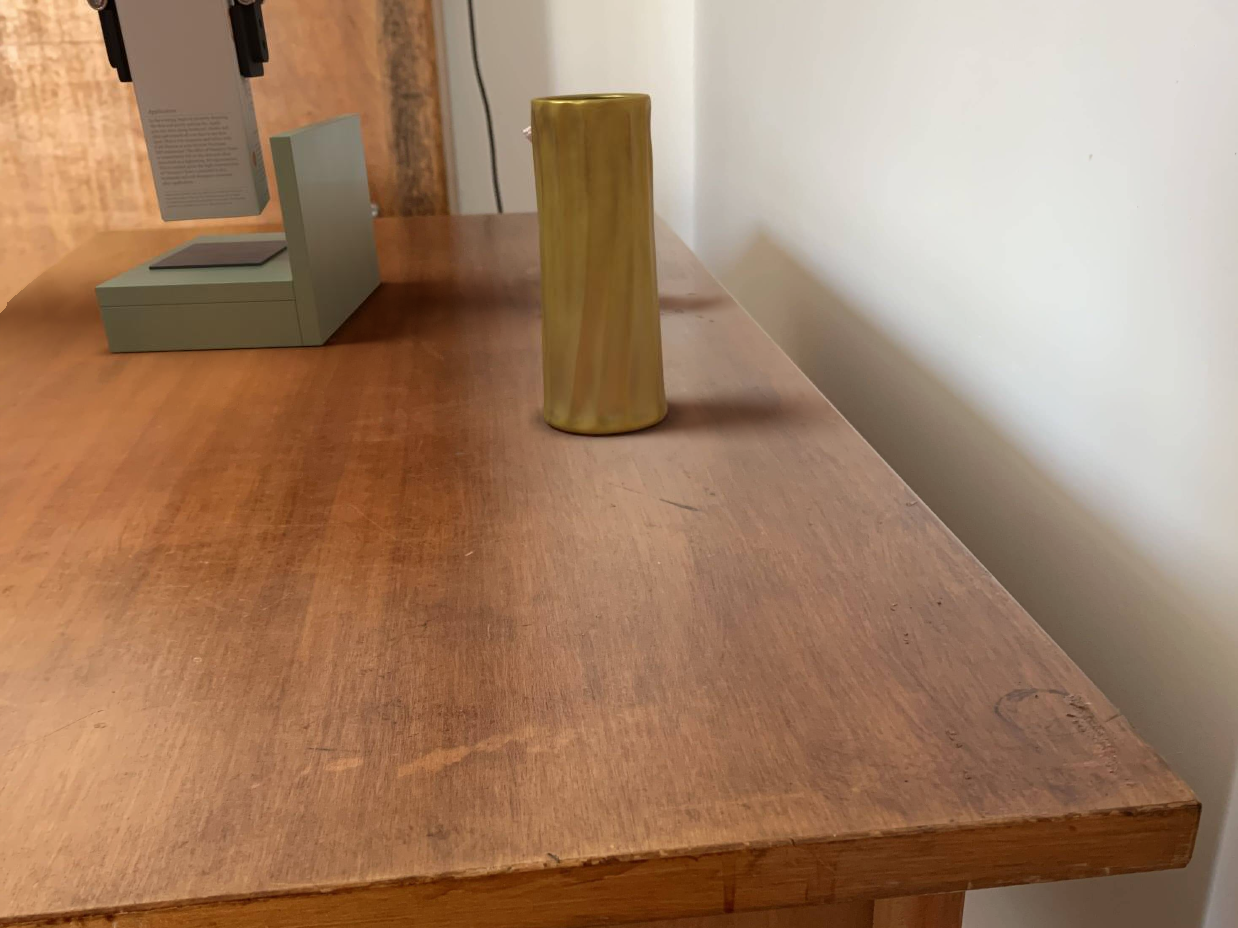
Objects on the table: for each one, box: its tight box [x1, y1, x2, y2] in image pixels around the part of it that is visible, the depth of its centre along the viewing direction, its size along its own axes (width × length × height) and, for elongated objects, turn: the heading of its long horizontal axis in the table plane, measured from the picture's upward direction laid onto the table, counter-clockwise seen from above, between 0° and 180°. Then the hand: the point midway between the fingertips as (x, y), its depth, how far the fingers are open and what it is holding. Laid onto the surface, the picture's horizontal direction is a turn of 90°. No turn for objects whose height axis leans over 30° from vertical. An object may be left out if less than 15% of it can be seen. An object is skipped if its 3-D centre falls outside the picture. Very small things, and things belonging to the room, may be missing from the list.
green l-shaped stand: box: [94, 113, 381, 354], centre depth 78 cm, size 13×20×12 cm, turn 1°
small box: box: [115, 0, 271, 223], centre depth 75 cm, size 8×6×13 cm
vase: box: [530, 92, 669, 435], centre depth 54 cm, size 6×6×14 cm
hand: (193, 76), depth 74 cm, fingers closed on small box, 7 cm apart
